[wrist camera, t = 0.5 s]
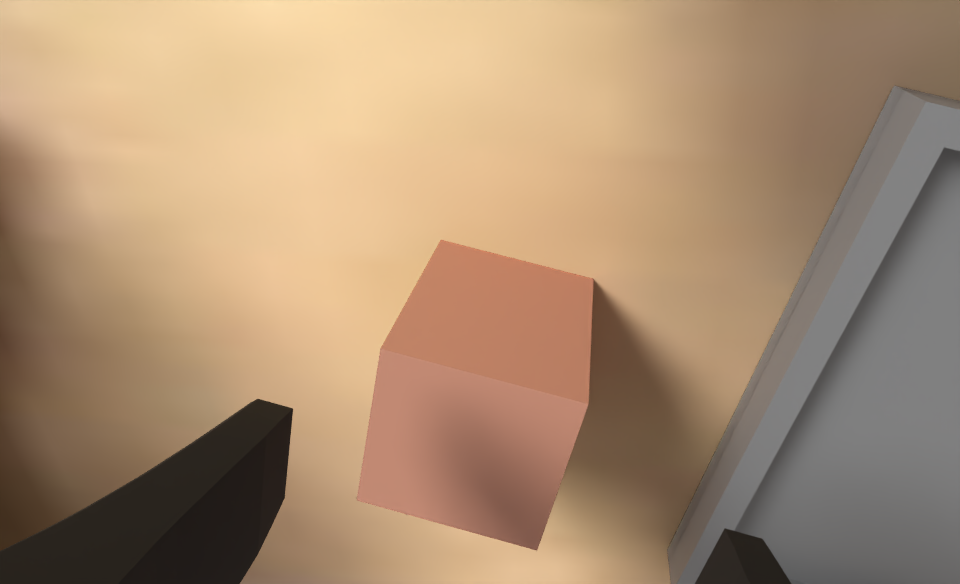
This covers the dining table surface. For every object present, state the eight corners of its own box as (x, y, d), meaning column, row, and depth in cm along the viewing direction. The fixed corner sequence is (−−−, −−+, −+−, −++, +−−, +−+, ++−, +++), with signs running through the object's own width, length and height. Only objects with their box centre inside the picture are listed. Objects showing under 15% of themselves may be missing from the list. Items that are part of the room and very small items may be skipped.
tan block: (553, 401, 22) (536, 550, 16) (417, 364, 22) (356, 500, 17) (593, 278, 19) (588, 403, 14) (441, 239, 20) (380, 348, 14)
